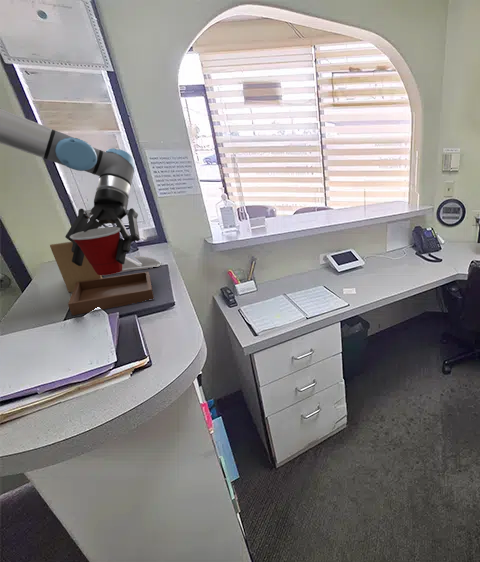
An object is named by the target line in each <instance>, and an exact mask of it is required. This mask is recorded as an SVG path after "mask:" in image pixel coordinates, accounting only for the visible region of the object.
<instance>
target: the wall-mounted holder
mask: <svg viewBox="0 0 480 562" xmlns="http://www.w3.org/2000/svg"><path fill="white" fill-rule="evenodd" d="M133 257H134V258H135V259H136V260H137V261H136V260H135V259H132V258H130V257H128V256H126V257H125V263H124V264H122V266H123V268H122V271H121V272H120V273H122V272H130V271H141V270H149V269H148V268H150V269H154V268H153V267H159V266H160V265H162V261H160V260H157V259H155V258H153V257H149V256H144V255H133ZM160 267H161V266H160ZM160 267H159V268H160Z"/></svg>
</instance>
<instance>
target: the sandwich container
mask: <svg viewBox="0 0 480 562" xmlns="http://www.w3.org/2000/svg"><path fill="white" fill-rule="evenodd" d="M72 245H73V243H72V242H71V241H65V242H58V243H51V244H49V248H50V250H51V253H52V254H53V257H54V259H55V262H56V265H57V267H58V271H59V273H60V274H61V277H62V279H63V282H64V285H65V288H66V289H67V292H68V293H72V292H73V290H74V287H75V284H76V282H81V281H87V280H94V279H101V278H103V275H98V274H97V273H96V272H95V270H94V269H93V267H92V265H91V264H90V263H89V261H88V260H87V258H86V256H85V255H84V259H83V263H82V266H78V265H76V264H75V263H73V262H72V258H73V254H74V253H73V252H72V251H71V249H72Z"/></svg>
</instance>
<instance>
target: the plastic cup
mask: <svg viewBox="0 0 480 562" xmlns="http://www.w3.org/2000/svg"><path fill="white" fill-rule="evenodd" d="M120 230H121V229H120V228H118V227H117V226H106V227H104V226H103V227H98V228H96V229H91V230H88V231H86V232H84V231H82V232H78V233H75V234H73V235H71V236H70V238H71V239H73V240H74V241H75V242H76V243H77V244H78V246H79V247H80V248H81V250H82V252H83V253H84V255H85V256H86V258H87V260H88V261H89V263H90V264H91V265H92V267H93V269H94V270H95V272H96V273H97V274H98V275H102V276H111V275H115V274H118V273H122V272H123V271H122V268H123V266H122V264H120V263H119V262H118V261H116V255H117V250H118V244H119V239H121V233H120ZM121 271H122V272H121Z"/></svg>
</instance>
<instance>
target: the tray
mask: <svg viewBox="0 0 480 562" xmlns="http://www.w3.org/2000/svg"><path fill="white" fill-rule="evenodd" d="M151 284H152V280H151V275H150V273H149V271H142V272H141V271H140V272H135V273H129V274H128V273H127V274H122V275H115V276H114V275H113V276H109V277H107V276H106V277H102V278H101V279H94V280H87V281H81V282H76V284H75V287H74V290H73V292H71V295H70V298H69V300H68V303H67V305H68V308H69V311H70V314H71V316H77V315H82V314H87V313H91V312H90V311H92V310H94V309H95V308H97V307H100V308H101V309H103V310H108V309H114V308H118V307H125V306H129V305H133V304H132V303H135V304H138V303H137V302H140V303H143V302H142V301H145V300H149V299H153V298H154V299H155V296H154V290H153V286H152V285H151ZM152 290H153V291H152ZM145 302H146V301H145ZM128 304H129V305H128ZM103 310H102V311H103Z"/></svg>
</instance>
